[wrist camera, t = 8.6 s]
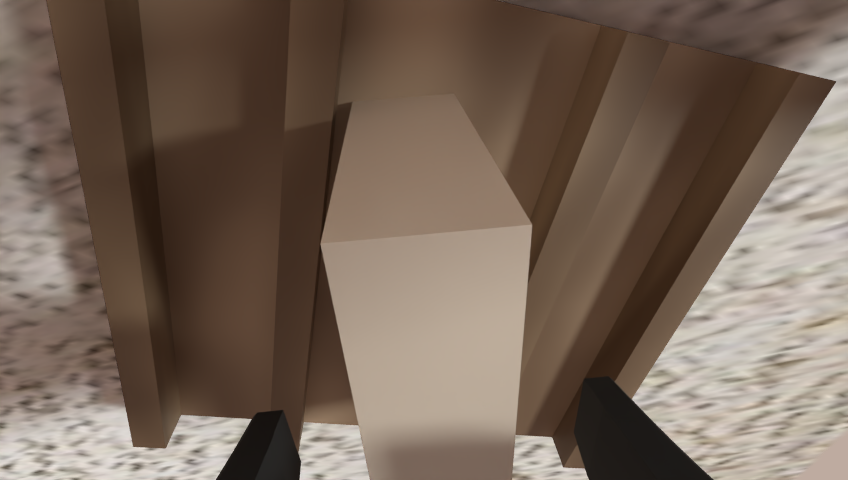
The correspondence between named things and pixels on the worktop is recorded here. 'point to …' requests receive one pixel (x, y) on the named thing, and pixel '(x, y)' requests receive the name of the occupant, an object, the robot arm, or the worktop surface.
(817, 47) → the worktop surface
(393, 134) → the beige rectangular board
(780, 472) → the worktop surface
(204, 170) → the rack
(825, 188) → the worktop surface
